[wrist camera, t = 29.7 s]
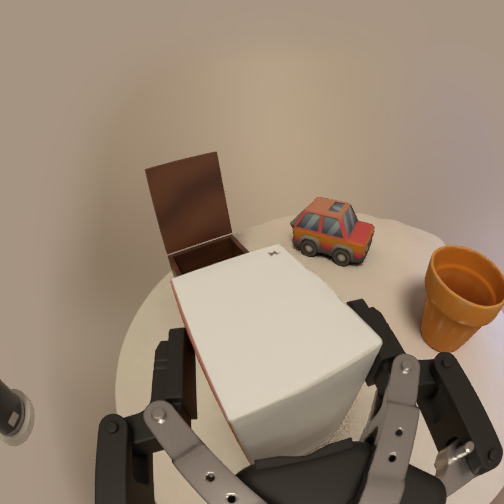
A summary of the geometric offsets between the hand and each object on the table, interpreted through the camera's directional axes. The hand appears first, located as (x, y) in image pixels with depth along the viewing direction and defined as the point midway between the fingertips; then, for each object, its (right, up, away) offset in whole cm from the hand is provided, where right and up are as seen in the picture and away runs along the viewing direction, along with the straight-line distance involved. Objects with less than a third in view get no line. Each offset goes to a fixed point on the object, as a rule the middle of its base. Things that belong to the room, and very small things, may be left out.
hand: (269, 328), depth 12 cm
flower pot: (+31, -10, +23) cm, 40 cm away
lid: (-11, +12, +33) cm, 37 cm away
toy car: (+17, +4, +47) cm, 50 cm away
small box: (+1, -10, +6) cm, 11 cm away
